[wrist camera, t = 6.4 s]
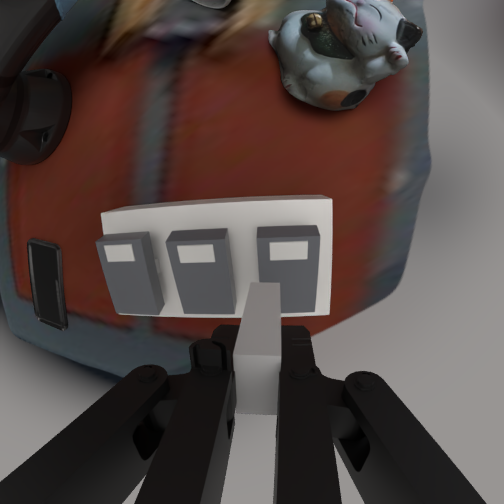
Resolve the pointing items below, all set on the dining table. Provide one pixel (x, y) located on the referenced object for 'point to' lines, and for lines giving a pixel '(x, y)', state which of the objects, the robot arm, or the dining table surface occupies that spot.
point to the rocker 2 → (203, 270)
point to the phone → (47, 282)
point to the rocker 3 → (290, 264)
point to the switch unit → (240, 238)
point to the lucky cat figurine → (342, 50)
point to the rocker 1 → (131, 273)
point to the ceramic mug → (213, 3)
